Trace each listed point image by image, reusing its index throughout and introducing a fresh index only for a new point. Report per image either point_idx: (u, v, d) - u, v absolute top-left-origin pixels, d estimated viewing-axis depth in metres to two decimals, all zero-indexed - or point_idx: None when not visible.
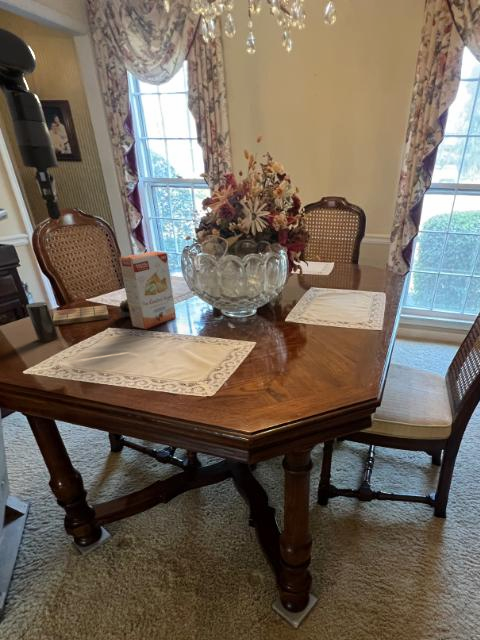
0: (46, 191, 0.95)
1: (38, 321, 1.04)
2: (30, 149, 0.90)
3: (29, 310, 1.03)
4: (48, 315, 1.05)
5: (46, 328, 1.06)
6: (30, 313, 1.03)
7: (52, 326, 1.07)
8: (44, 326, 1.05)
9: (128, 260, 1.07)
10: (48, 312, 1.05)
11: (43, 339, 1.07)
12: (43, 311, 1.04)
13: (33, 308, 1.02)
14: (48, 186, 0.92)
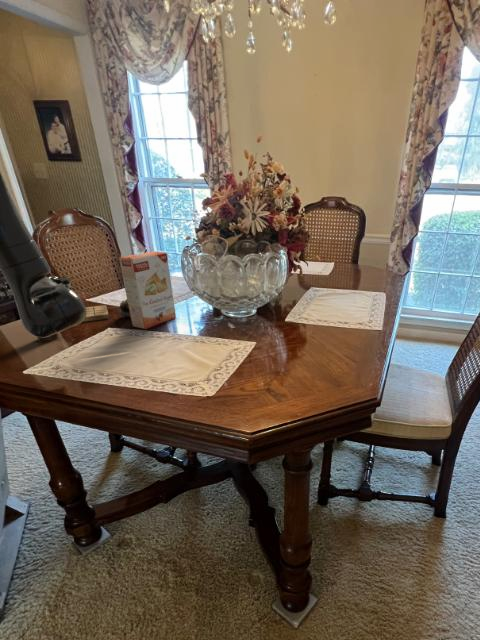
0: None
1: None
2: None
3: None
4: None
5: None
6: None
7: None
8: None
9: (128, 260, 1.07)
10: None
11: (43, 339, 1.07)
12: None
13: None
14: (0, 294, 0.84)
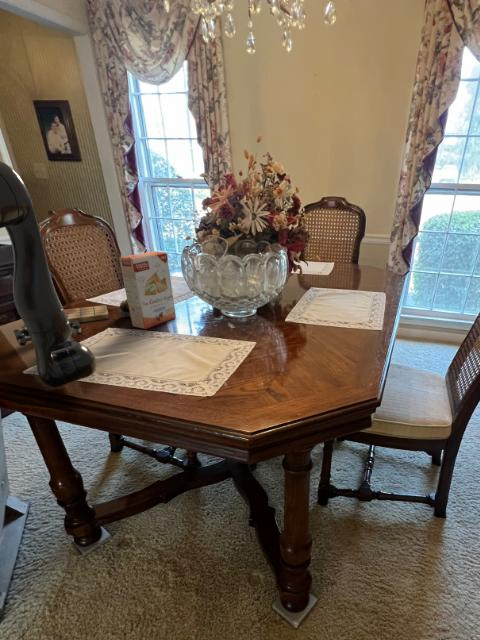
0: None
1: None
2: None
3: None
4: None
5: None
6: None
7: None
8: None
9: (128, 260, 1.07)
10: None
11: None
12: None
13: None
14: (17, 340, 0.92)
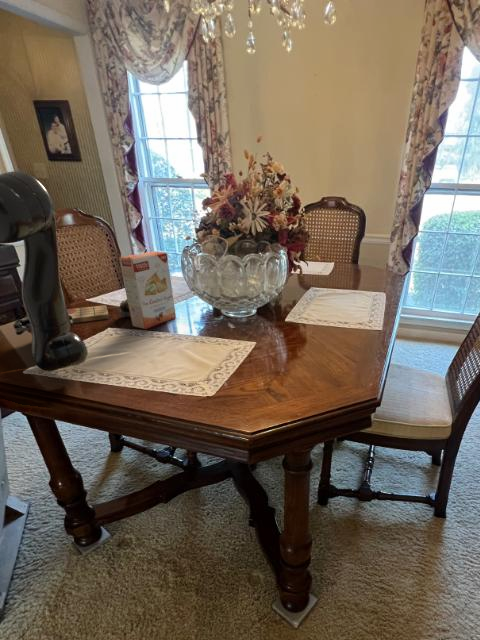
0: None
1: None
2: (30, 329, 0.95)
3: None
4: None
5: None
6: None
7: None
8: None
9: (128, 260, 1.07)
10: None
11: None
12: None
13: None
14: None
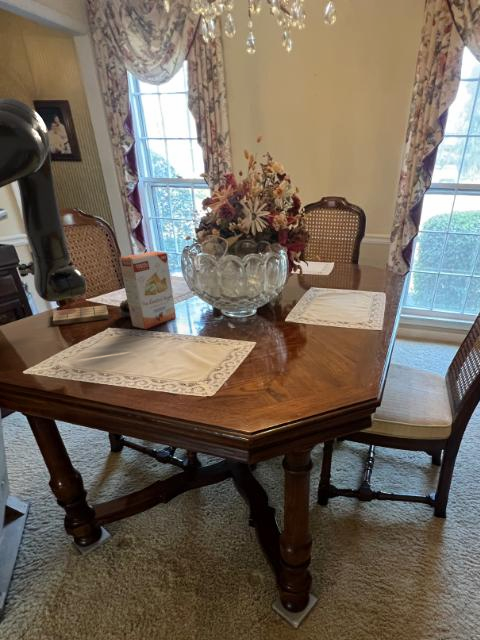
0: None
1: None
2: (33, 269, 1.00)
3: (33, 256, 1.08)
4: None
5: None
6: (33, 259, 1.09)
7: None
8: None
9: (128, 260, 1.07)
10: None
11: None
12: None
13: None
14: None
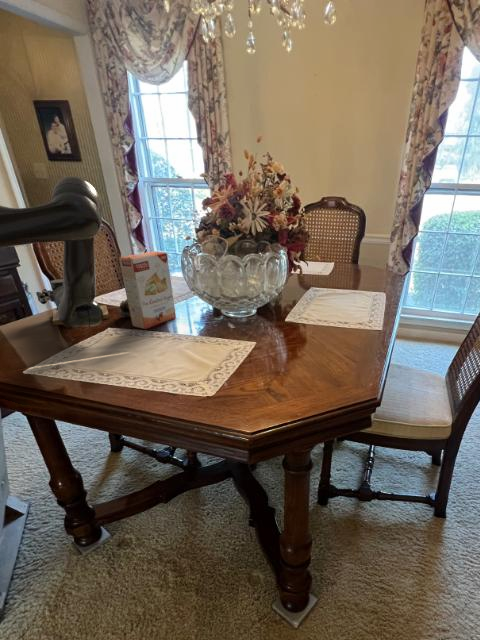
0: (49, 295, 1.19)
1: None
2: (54, 298, 1.12)
3: (52, 285, 1.21)
4: None
5: None
6: (53, 288, 1.21)
7: None
8: None
9: (128, 260, 1.07)
10: None
11: None
12: None
13: (56, 283, 1.20)
14: (39, 300, 1.17)
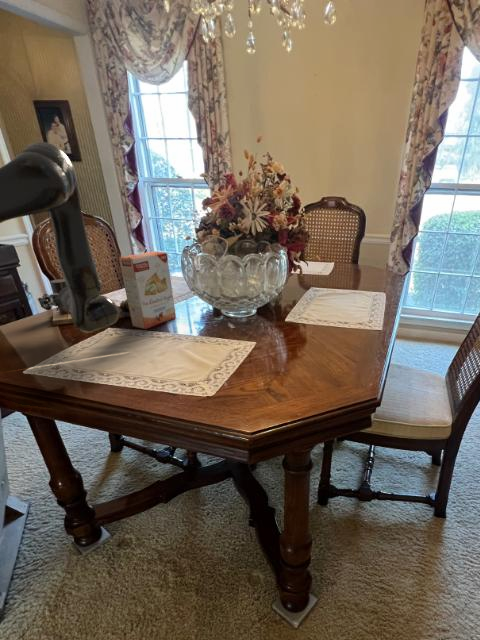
0: (51, 299, 1.09)
1: None
2: (60, 301, 1.03)
3: (52, 285, 1.21)
4: None
5: None
6: (53, 288, 1.21)
7: None
8: None
9: (128, 260, 1.07)
10: None
11: (64, 311, 1.25)
12: (64, 287, 1.22)
13: (56, 283, 1.20)
14: (42, 306, 1.07)
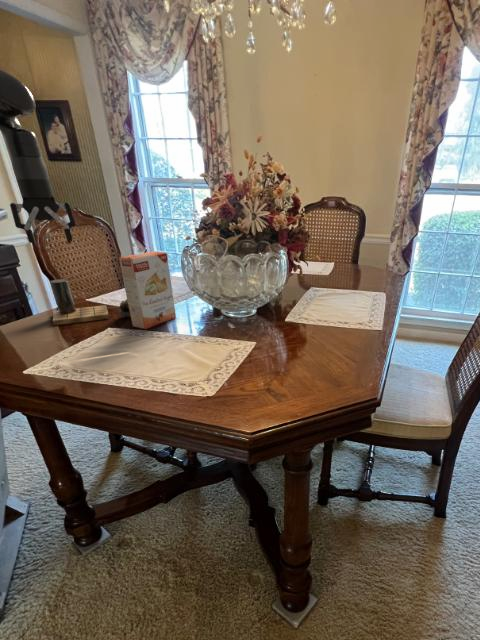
0: (61, 219, 1.05)
1: (59, 295, 1.22)
2: (49, 183, 1.00)
3: (52, 285, 1.21)
4: (68, 290, 1.23)
5: (66, 301, 1.24)
6: (53, 288, 1.21)
7: (71, 300, 1.25)
8: (65, 299, 1.23)
9: (128, 260, 1.07)
10: (68, 287, 1.23)
11: (64, 311, 1.25)
12: (64, 287, 1.22)
13: (56, 283, 1.20)
14: None
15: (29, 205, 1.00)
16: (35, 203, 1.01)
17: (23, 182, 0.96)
